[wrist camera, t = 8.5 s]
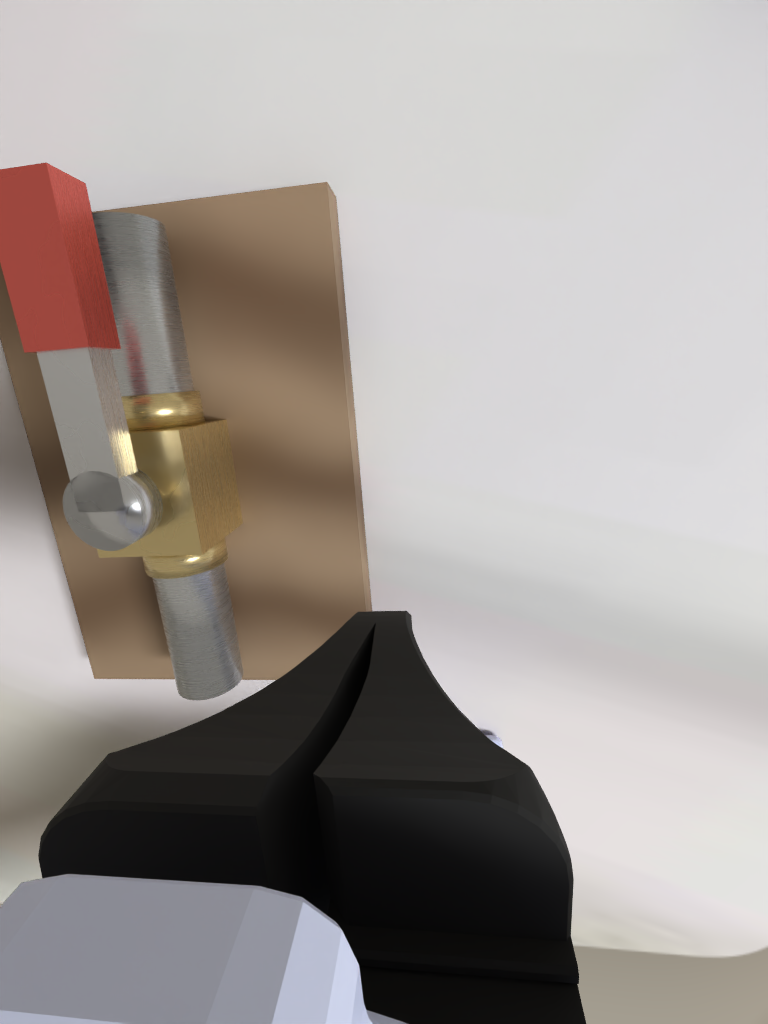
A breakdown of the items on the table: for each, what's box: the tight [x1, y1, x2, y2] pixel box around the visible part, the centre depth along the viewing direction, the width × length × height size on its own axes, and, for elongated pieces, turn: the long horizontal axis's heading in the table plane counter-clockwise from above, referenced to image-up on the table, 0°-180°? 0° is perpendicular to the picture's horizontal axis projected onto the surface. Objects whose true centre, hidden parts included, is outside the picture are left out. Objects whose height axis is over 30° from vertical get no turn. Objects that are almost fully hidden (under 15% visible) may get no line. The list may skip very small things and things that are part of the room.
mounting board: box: [0, 182, 372, 680], centre depth 21 cm, size 20×14×2 cm
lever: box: [0, 163, 163, 551], centre depth 14 cm, size 10×3×2 cm, turn 4°
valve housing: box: [92, 212, 244, 700], centre depth 18 cm, size 18×4×4 cm, turn 4°
